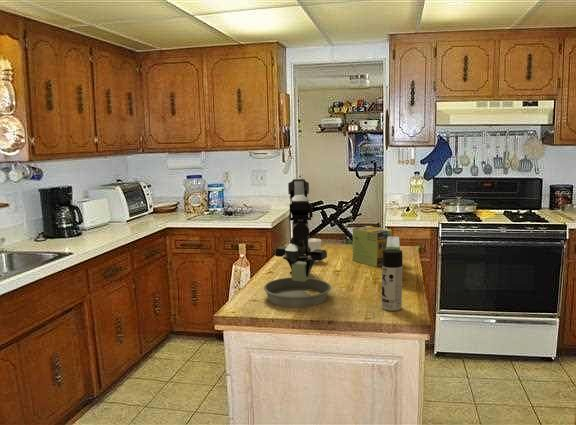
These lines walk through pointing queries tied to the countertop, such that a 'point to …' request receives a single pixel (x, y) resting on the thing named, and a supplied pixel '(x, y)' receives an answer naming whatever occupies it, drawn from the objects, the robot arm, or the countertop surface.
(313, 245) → the white cup
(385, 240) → the protein box
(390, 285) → the spray can
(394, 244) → the snack box
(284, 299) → the cake pan
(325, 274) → the countertop surface
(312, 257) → the robot arm
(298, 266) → the olive block
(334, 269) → the countertop surface
